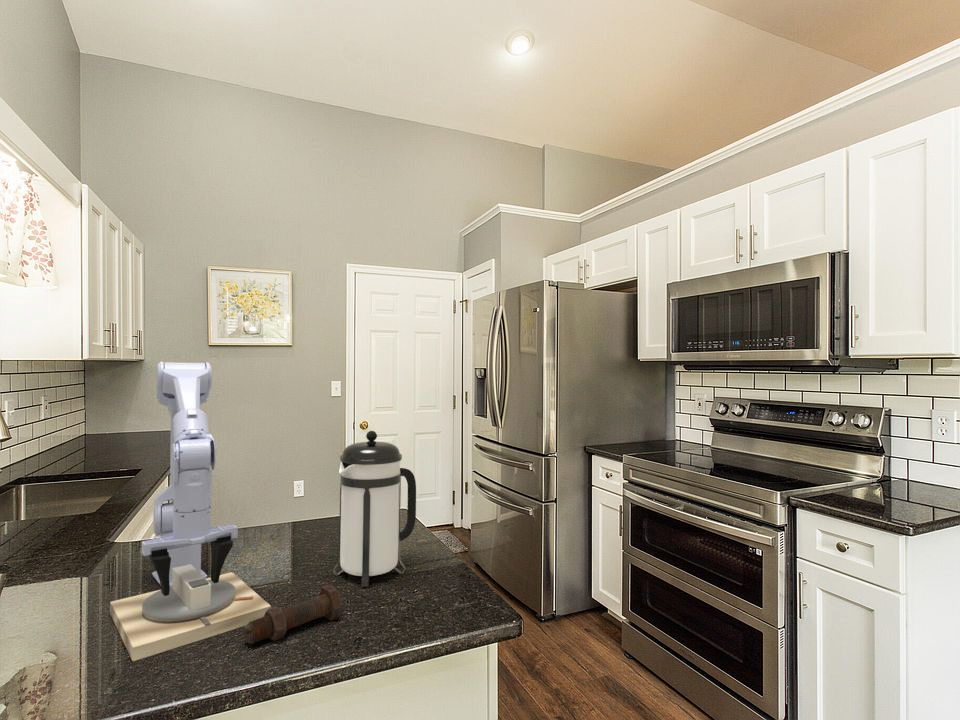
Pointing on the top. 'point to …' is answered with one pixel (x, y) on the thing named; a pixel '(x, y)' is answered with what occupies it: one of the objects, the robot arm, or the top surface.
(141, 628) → the dial board
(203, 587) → the dial
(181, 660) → the top surface
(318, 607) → the bolt
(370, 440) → the coffee press
